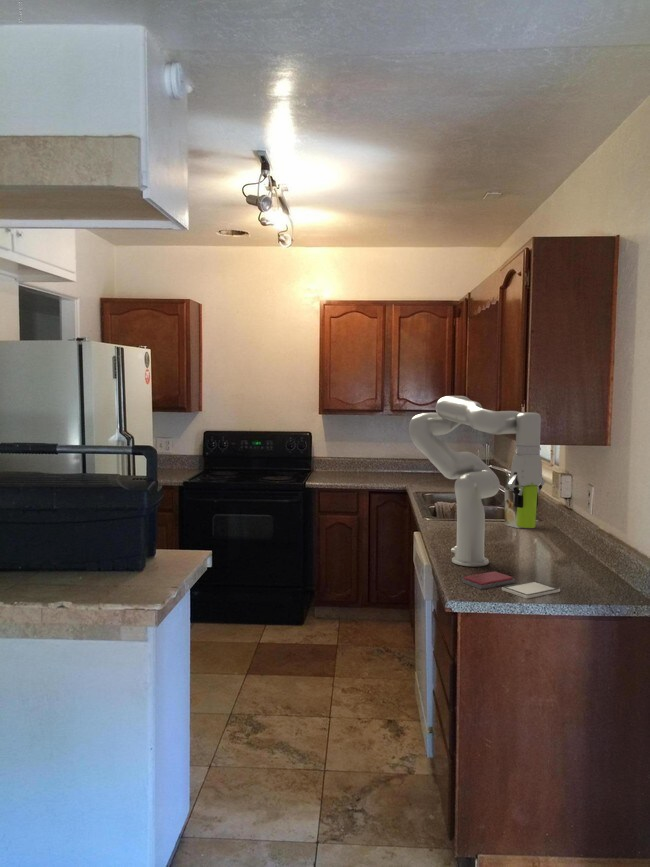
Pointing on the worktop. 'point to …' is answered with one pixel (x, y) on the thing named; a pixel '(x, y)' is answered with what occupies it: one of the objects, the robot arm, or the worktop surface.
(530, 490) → the soap dispenser
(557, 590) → the marked card
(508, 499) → the coffee box
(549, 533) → the worktop surface
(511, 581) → the ink pad
